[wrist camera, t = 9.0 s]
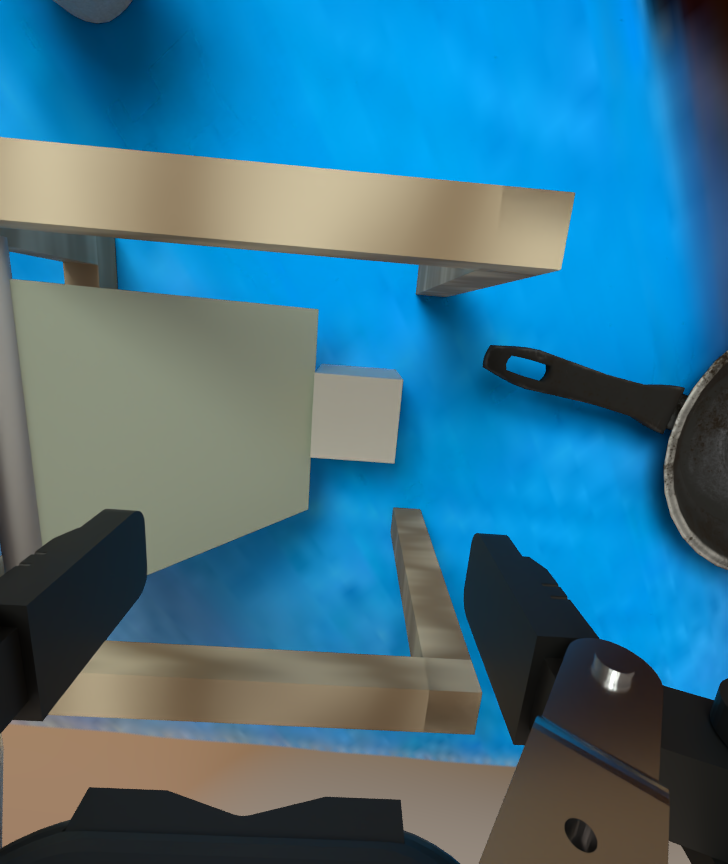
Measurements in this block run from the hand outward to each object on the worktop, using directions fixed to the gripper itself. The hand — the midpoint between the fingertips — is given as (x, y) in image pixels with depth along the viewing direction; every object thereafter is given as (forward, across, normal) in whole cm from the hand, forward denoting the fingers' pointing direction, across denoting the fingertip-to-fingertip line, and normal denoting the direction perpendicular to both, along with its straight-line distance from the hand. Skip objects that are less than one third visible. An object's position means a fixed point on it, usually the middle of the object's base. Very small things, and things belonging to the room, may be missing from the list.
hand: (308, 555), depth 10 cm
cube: (+17, +1, 0) cm, 17 cm away
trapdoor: (+11, +11, 0) cm, 15 cm away
